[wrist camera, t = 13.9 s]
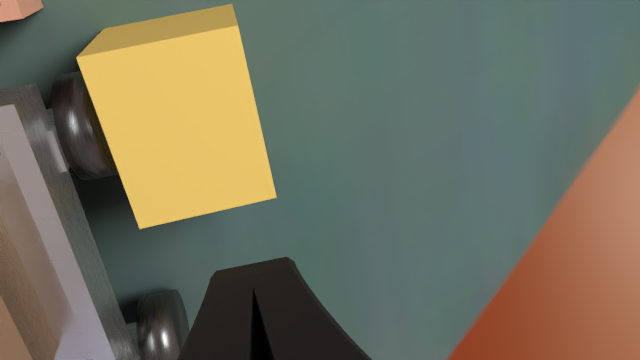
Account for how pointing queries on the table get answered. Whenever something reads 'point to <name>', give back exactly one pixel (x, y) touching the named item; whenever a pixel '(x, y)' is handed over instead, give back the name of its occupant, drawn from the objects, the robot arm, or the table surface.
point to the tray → (18, 9)
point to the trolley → (65, 240)
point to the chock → (179, 114)
